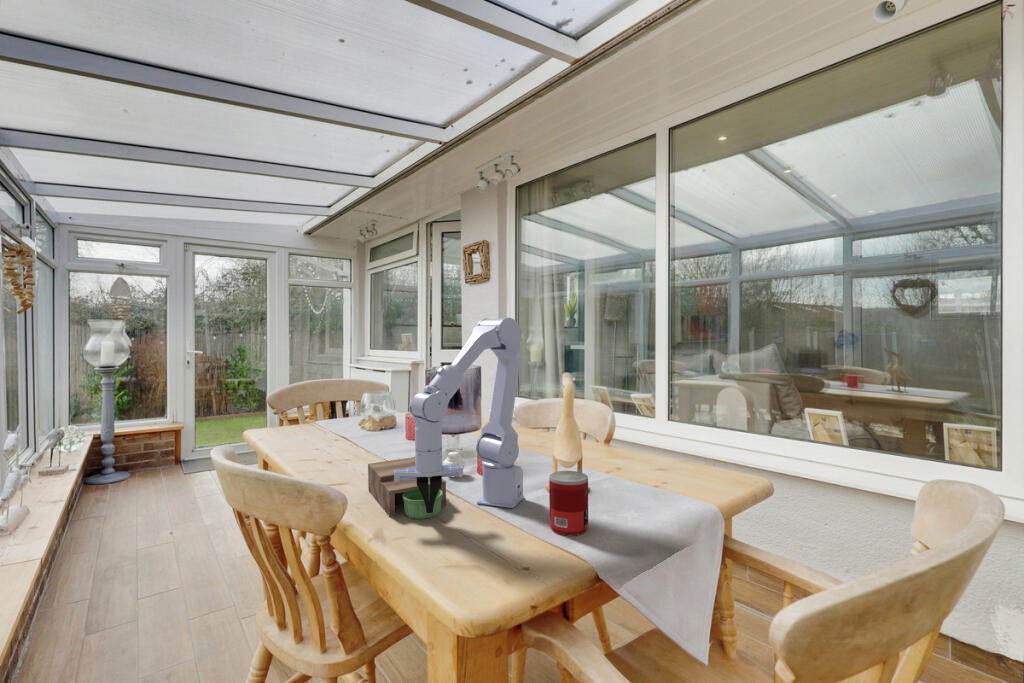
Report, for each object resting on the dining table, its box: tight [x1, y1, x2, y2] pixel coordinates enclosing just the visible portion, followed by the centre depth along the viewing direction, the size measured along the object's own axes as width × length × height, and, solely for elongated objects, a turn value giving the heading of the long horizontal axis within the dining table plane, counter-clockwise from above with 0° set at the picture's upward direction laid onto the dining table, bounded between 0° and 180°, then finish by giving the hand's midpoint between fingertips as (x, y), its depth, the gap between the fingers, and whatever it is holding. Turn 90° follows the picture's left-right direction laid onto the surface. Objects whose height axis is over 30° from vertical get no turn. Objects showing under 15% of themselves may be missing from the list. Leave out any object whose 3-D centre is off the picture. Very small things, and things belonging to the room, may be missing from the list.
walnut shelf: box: [367, 456, 447, 518], centre depth 118 cm, size 20×13×7 cm
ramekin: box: [402, 487, 443, 520], centre depth 108 cm, size 9×9×4 cm
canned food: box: [548, 470, 589, 536], centre depth 99 cm, size 8×8×11 cm
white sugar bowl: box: [442, 451, 466, 469], centre depth 135 cm, size 6×6×7 cm
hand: (429, 511), depth 103 cm, fingers closed
